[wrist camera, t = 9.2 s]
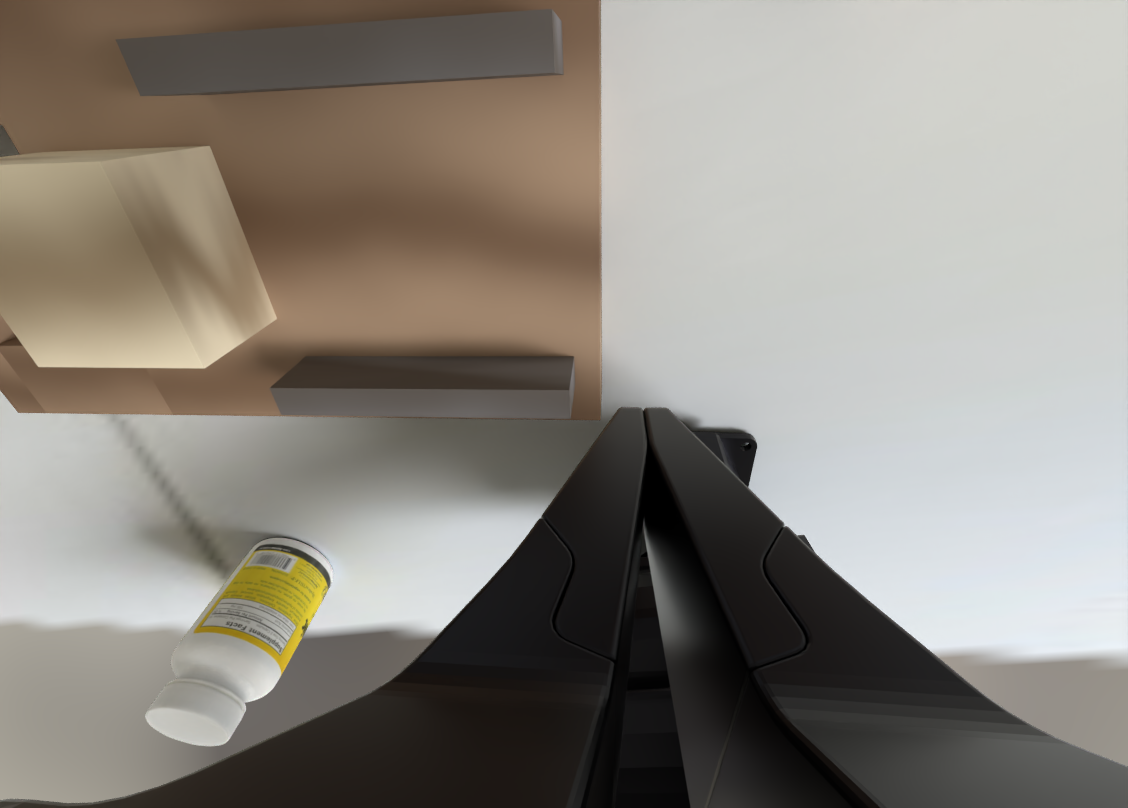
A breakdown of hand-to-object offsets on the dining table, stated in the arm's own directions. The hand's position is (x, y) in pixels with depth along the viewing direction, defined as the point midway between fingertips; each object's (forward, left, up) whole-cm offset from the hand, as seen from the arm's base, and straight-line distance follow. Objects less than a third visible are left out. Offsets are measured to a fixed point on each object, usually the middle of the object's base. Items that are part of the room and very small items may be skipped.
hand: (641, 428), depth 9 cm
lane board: (+1, +15, -12) cm, 19 cm away
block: (+1, +17, -10) cm, 19 cm away
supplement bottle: (-20, +21, -12) cm, 31 cm away
